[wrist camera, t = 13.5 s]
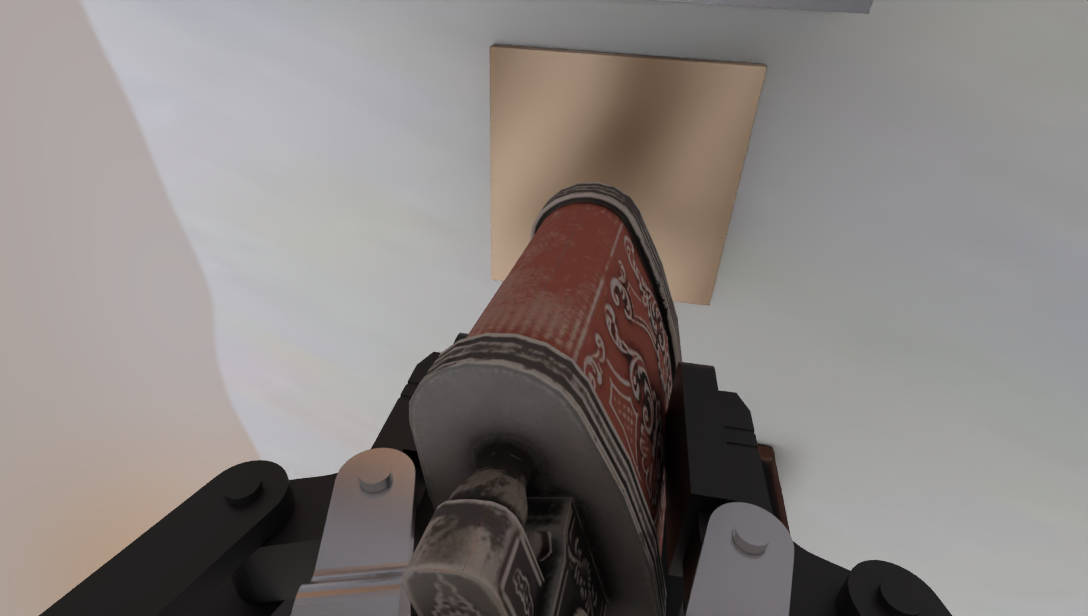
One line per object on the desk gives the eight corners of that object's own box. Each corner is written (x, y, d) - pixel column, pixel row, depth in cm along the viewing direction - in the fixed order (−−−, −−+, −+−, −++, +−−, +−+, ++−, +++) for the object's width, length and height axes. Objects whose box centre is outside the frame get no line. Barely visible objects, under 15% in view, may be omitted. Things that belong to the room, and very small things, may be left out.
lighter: (514, 195, 14) (233, 517, 6) (649, 169, 13) (539, 523, 5) (588, 439, 18) (479, 857, 9) (699, 435, 17) (687, 908, 8)
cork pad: (764, 64, 20) (766, 67, 20) (708, 298, 26) (709, 305, 25) (493, 44, 21) (489, 46, 21) (494, 273, 27) (491, 279, 26)
